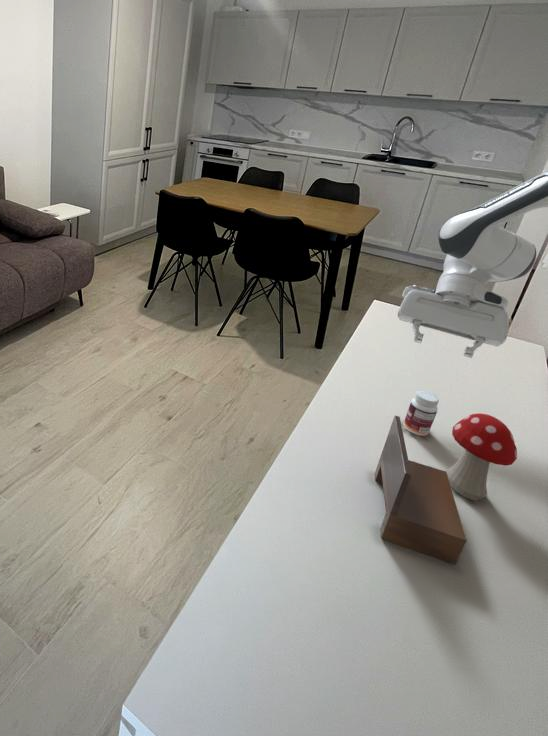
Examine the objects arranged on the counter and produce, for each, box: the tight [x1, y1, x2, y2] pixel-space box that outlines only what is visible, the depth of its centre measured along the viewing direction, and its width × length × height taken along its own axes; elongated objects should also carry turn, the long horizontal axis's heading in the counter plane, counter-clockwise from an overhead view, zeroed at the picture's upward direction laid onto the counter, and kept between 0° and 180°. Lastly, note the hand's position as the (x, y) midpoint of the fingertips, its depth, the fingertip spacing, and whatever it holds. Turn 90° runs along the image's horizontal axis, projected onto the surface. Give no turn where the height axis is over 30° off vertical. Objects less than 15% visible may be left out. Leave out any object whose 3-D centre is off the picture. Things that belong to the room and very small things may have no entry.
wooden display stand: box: [374, 415, 468, 566], centre depth 80 cm, size 10×16×13 cm, turn 155°
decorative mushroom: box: [446, 412, 518, 501], centre depth 87 cm, size 10×9×15 cm
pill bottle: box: [403, 389, 440, 436], centre depth 104 cm, size 5×5×8 cm
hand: (442, 348), depth 109 cm, fingers open, 8 cm apart
